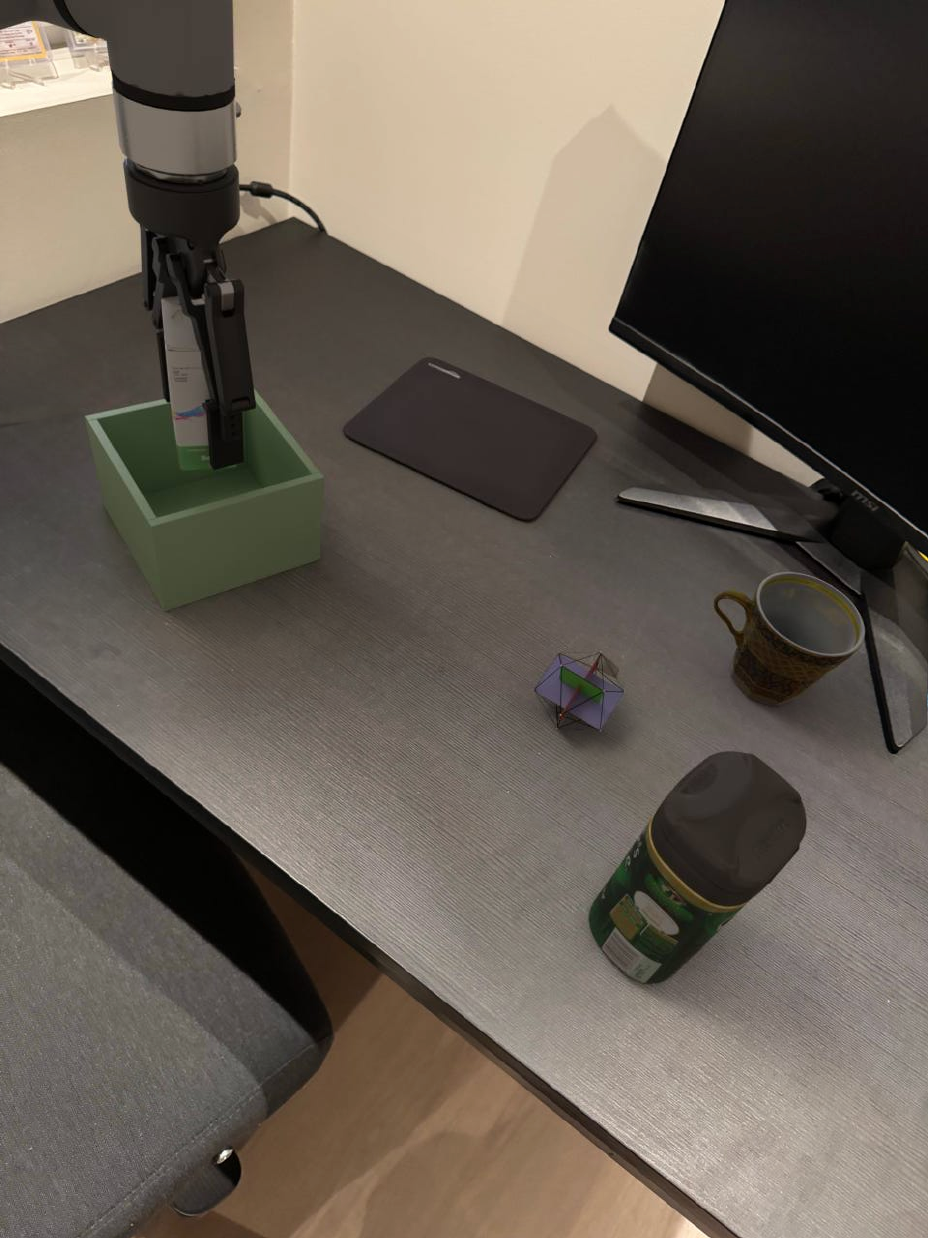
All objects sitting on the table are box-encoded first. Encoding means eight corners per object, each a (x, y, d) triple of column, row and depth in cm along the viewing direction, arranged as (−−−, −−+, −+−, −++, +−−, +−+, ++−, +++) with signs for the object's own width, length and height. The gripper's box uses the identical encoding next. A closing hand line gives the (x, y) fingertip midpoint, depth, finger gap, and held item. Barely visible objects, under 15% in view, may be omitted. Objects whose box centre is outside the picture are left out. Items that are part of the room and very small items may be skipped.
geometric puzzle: (582, 759, 70) (630, 678, 68) (513, 715, 72) (558, 635, 70) (597, 741, 77) (641, 667, 75) (533, 702, 79) (575, 628, 77)
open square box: (102, 503, 83) (84, 415, 75) (250, 464, 90) (248, 380, 82) (164, 611, 76) (151, 526, 68) (320, 559, 83) (324, 476, 75)
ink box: (238, 469, 73) (232, 347, 64) (178, 472, 71) (164, 348, 62) (228, 408, 78) (222, 289, 69) (172, 410, 76) (158, 288, 67)
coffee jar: (643, 846, 68) (737, 718, 54) (721, 921, 65) (841, 805, 51) (565, 923, 63) (647, 802, 49) (646, 1008, 60) (758, 905, 46)
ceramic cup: (812, 658, 85) (863, 592, 78) (811, 735, 79) (867, 671, 71) (689, 617, 86) (728, 548, 79) (678, 690, 80) (719, 622, 72)
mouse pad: (600, 432, 104) (600, 430, 104) (531, 525, 91) (531, 523, 91) (427, 354, 109) (427, 353, 109) (336, 432, 96) (337, 430, 96)
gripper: (307, 228, 53) (300, 495, 70) (171, 92, 64) (193, 353, 81) (193, 243, 50) (214, 520, 67) (69, 97, 60) (114, 368, 77)
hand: (203, 429), depth 74 cm, fingers closed on ink box, 9 cm apart
